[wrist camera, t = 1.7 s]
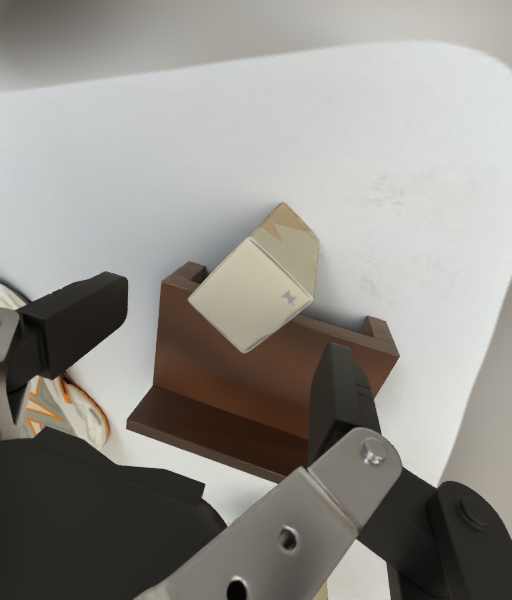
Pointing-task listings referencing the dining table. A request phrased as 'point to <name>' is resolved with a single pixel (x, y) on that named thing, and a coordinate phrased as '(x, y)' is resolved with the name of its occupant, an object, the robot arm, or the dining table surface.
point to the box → (261, 281)
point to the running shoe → (58, 399)
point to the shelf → (243, 383)
